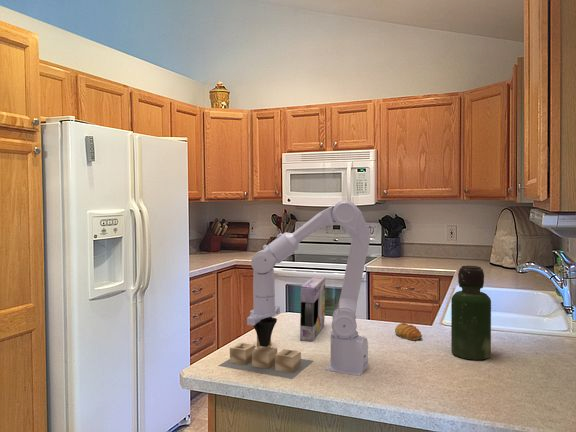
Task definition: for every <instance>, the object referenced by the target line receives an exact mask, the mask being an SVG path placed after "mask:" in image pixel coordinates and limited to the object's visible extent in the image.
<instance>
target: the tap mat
mask: <svg viewBox="0 0 576 432" xmlns="http://www.w3.org/2000/svg"><path fill="white" fill-rule="evenodd" d="M314 362H315V360H311V359H305V358H301V367H300V368H299V369H297V370H296V371H295V372H294V373H290V372H284V371H278V370H275V365H274V366H272V367H271V368H269V369H266V368H260V367H255V366H252V361H251V362H250V363H248V364H246V365H243V364H237V363H231V362H230V358H229V359H227V360H225V361H224V362H222V363H220V364H218V365H217V366H218V367H223V368H227V369H234V370H240V371H246V372H251V373H256V374H263V375H266V376H267V375H268V376H273V377H279V378H285V379H289V380H290V379H291V380H293V379H294V378H295V377H297V376H298V375H299V374H301V372H302V371H304V370H305V369H306V368H308V367H309V366H310V365H312V364H313V363H314Z"/></svg>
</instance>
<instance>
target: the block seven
mask: <svg viewBox="0 0 576 432" xmlns="http://www.w3.org/2000/svg"><path fill="white" fill-rule="evenodd" d="M255 349H256V345H255V344H250V343H244V342H238V343H236V344H234V345H232V346H230V347H229V359H230V362H231V363H237V364H243V365H246V364H248V363H250V362H251V361H252V351H253V350H255Z"/></svg>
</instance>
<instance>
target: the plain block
mask: <svg viewBox="0 0 576 432" xmlns="http://www.w3.org/2000/svg"><path fill="white" fill-rule="evenodd" d="M277 353H278V347H272V346H271V347H263V346H260V347H257V348H255V350H253V351H252V366H255V367H260V368H266V369H269V368H271V367H272V366H274V365H275V355H276V354H277Z"/></svg>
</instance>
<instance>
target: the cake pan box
mask: <svg viewBox="0 0 576 432" xmlns="http://www.w3.org/2000/svg"><path fill="white" fill-rule="evenodd" d="M325 301H326V277H325V276H312V277H311V278H310V279H308V280H307V281H306V282H305V283H303V284H302V285H300V318H299V319H300V320H299V321H300V324H299V328H300V329H299V332H300V333H299V335H300V336H299V339H300V341H303V342H304V341H306V342H314V341H315V339H316V338H317V336H318V335H319V333H320V332H321V331H322V330H323V328H324V327H325V315H326V314H325V310H326V309H325V307H326V304H325V303H326V302H325Z"/></svg>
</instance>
